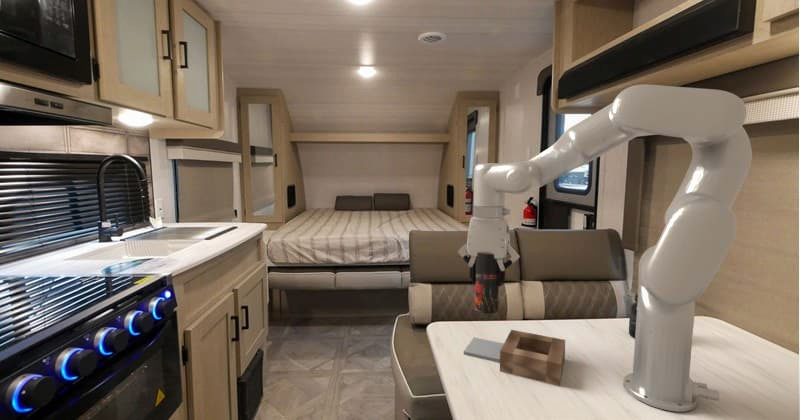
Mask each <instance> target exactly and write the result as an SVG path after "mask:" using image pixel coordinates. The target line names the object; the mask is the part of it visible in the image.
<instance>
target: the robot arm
mask: <svg viewBox="0 0 800 420" xmlns="http://www.w3.org/2000/svg"><path fill="white" fill-rule="evenodd" d="M746 118H747V107H746V104H745V102H744V101H743V100H742V98H740V96H738V95H736V94H734V93H732V92H731V91H730V92H729V91H726V90H723V89H722V90H721V89H714V88H713V89H712V88H711V89H710V88H700V87H699V88H698V87H684V86H671V85H659V84H645V83H643V84H635V85H631V86H629V87H627V88H624V89H623V90H621V91H620V92H619V94H617V96H616V97H615V98H614V99H613V102H611V103H609V104H608V105H607V106H605V107H603V108H601V109H600V110H598V111H597V112H595V113H593V114H592V115H590V116H588V117H586V118H584V119H583V120H581V121H579V122H577V123H576V124H575V125H574V124H573V126H571V127H569V128H568V129H566V130H565V131H564V132H563V134H562V135H561V136H560V137H559V138H558V139H557V140H556V141H555V143H553V144H551V146H550V147H548V148H547V149H545V150H543V151H542V152H540V153H538V154H537V155H535V156H533V157H531V158H530V159H528V160H526V161H514V162H507V163H498V162H497V163H495V162H490V163H489V162H486V163H485V162H484V163H483V162H481V163H477V165H475V167H474V170H473V211H472V212H473V215H472V217H470V220H469V225H468V231H467V239H466V241H467V242H466V243H464V244H463V245H462V246H461V247H460V248H459V249H458V251H457V253H458V254H459V255H460V256H461V258H462V259H463V260H464V261H465V263H466V264H467V266H468V267H469V279H471V282H470V283H472V284H475V269H476V257H477V253H485V254H494V258H495V259H497V262H498V265H499V270H498V279H497V286H499V287H501V286H502V285H503V284H504V283H505V282H506V270H507V269H508V268H509V267H510V266H512V265H513V264H514V263H515V262H516V261H518V260H519V258H520V254H518V253H517V251H516V250H515V249H514V248H513V247H512V246H511V242H510V241H511V240H510V239H511V238H510V226H509V220H508V218H505V216H507V215H511V209H510V208H506V204H505V203H506V197H505V196H506V193H507V194H512V195H513V194H514V195H523V194H524V195H525V194H527V193H530V192H531V193H532V192H534V191H536V190H538V189H539V188H541V187H543V186H545V185H547V184H550V183H551V182H553V181H554V180H557V179H558V178H560V177H562V176H564V175H566V174H567V173H569V172H571V171H574V170H576V169H578V168H580V167H583V166H585V165H586V164H588V163H590V162H591V161H592V162H593V160H596V159H597V158H599V157H601V156H603V155H605V154H606V153H608V152H610V151H612V150H614V149H616V148H617V147H620V146H621V145H624V144H626V143H628V142H629V141H631V140H633V139H635V138H637V137H638V136H641V135H642V134H644V133H646V134H653V135H658V136H659V135H660V136H666V137H675V138H681V139H683V140H684V141H686V142H687V143H688V144H689V145H690V147H691V148H690V149H691V151H692V152H691V153H692V156H691V157H692V158H691V161H690V163H689V164H690V165H689V167H688V169H687V171H686V173H685V176H684V178H683V180H682V182H681V184H680V186H679V188H678V190H677V192H676V194H675V196H674V197H673V200H672V201H671V203H670V205H669V206H668V207H667V209H666V211H665V213H664V224H665V226H664V228H663V231H662V232H661V234H660V236H659V239H658V241H656V242H657V243H656V244H655V245H652V246H651V247H648V249H646V250H645V251H644V252H643V253H642V255H641V257H640V259H639V262H638V275H637V276H638V279H637V280H638V282H637V283H638V284H637V293H638V303H637V317H636V332H635V338H634V349H633V350H634V352H633V367H632V372H631V373H628V374H626V375H625V376H624V378H623V386H624V388H625V390H626V392H628V394H630V395H631V396H632V397H634V398H635V399H637V400H638V401H640V402H642V403H644V404H646V405H649V406H651V407H654V408H657V409H661V410H664V411H669V412H681V413H684V412H689V411H692V410H694V409H695V408H697V406H698V398H704V399H706V400H711V401H716V402H719V401H720V393H719V390H717V389H712V388H709V387H708V384H707V383H704V382H696V381H693V379H691V378H690V371H691V358H692V347H693V346H692V345H693V334H694V325H695V324H694V323H695V311H696V301H697V300H698V299H699V298H701V296H703V294H704V293H705V291H707V288H708V287H709V285H710V284H711V282H712V281H713V278H714V277H715V275H716V274H717V271H718V270H719V268H720V266H721V264H722V263H723V261H724V259H725V258H726V256H727V254H728V252H729V250H730V248H731V247H732V244H733V243H734V241H735V238H736V235H737V231H738V219H737V216H736V214H735V213H734V211H733V210H732V207H733V205H734V203H735V201H736V199H737V197H738V195H739V192H740V190H741V188H742V187H743V184H744V182H745V180H746V178H747V175H748V173H749V172H750V171H749V170H750V168H751V164H752V159H753V155H752V154H753V151H752V145H751V141H750V137H749V135H748V133H747V131H746V129H745V128H744V127H743V125H744V124H745V122H746ZM509 255H510V256H511V257H510V258H508V260H507V261H506V258H507V257H508V256H509Z"/></svg>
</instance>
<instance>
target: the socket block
mask: <svg viewBox="0 0 800 420" xmlns="http://www.w3.org/2000/svg"><path fill="white" fill-rule="evenodd" d="M503 343H504V345H503V347H502V348H501V350H500V362H499V372H500V373H505V374H508V375H509V374H510V375H513V376H518V377H521V378H524V379H525V378H526V379H529V380H534V381H537V382H542V383H545V384H549V385H554V386H558V387H561V384H562V377H563V372H564V371H563V370H564V365H565V358H566V357H565V356H566V339H563V338H557V337H552V336H547V335H541V334H538V333H537V334H536V333H529V332H525V331H521V330H515V329H511V330H510V332H509V333H508V334H507V337H506V339H505V341H504V342H503Z"/></svg>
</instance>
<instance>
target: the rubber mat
mask: <svg viewBox="0 0 800 420" xmlns="http://www.w3.org/2000/svg"><path fill="white" fill-rule="evenodd" d="M504 343H505V342H498V341H494V340H490V339H489V340H488V339H484V338H479V337H475V336H473V338H472V339H471V341H470V342H469V344H468V345H467V346H466V347H465V349H464V350H463V355H465V356H470V357H474V358H478V359H481V360H483V359H484V360H486V361H492V362H495V363H500V350H501V348H502V347H503V345H504Z"/></svg>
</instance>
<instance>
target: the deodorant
mask: <svg viewBox="0 0 800 420" xmlns="http://www.w3.org/2000/svg"><path fill="white" fill-rule="evenodd" d="M498 270H499V265H498V262H497V259H495V258H494V254H485V253H477V257H476V269H475V282H474V310H475V311H476V312H477V313H478V312H479V313H481V314H495V313H497V312H499V306H500V305H499V304H500V301H499V297H500V286H497V279H498Z"/></svg>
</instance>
